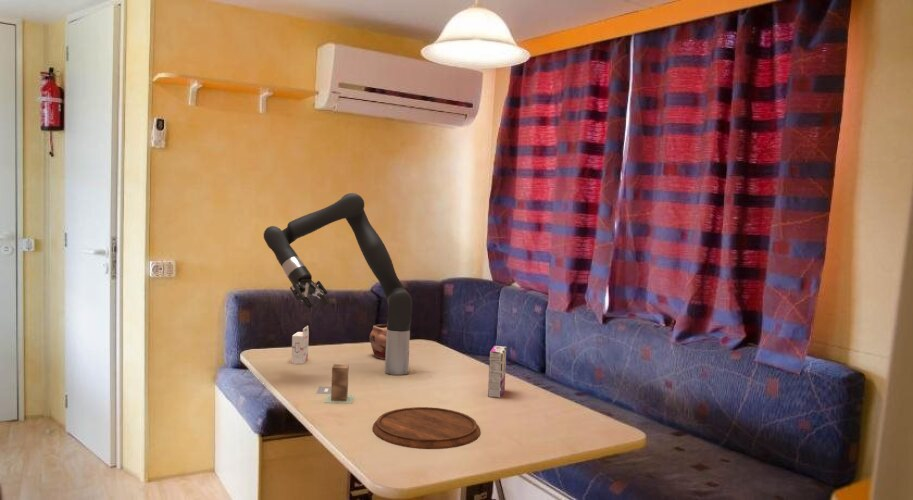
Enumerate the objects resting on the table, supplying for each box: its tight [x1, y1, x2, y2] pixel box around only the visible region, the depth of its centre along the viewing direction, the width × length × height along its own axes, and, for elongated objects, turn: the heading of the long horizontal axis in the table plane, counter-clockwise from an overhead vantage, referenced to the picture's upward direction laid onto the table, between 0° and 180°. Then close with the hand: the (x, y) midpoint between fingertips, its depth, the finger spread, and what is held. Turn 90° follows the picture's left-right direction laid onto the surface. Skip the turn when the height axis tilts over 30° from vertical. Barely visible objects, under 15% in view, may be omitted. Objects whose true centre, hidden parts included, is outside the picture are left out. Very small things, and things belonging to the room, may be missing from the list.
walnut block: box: [330, 363, 350, 401], centre depth 218 cm, size 5×5×11 cm
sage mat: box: [324, 394, 355, 404], centre depth 218 cm, size 9×9×1 cm
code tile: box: [316, 385, 331, 395], centre depth 228 cm, size 9×9×1 cm
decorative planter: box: [369, 324, 387, 360], centre depth 286 cm, size 20×12×14 cm, turn 36°
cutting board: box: [372, 406, 481, 450], centre depth 193 cm, size 32×32×2 cm
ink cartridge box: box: [291, 325, 310, 365], centre depth 269 cm, size 9×5×15 cm, turn 179°
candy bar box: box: [487, 345, 507, 399], centre depth 235 cm, size 11×5×16 cm, turn 168°
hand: (319, 306), depth 234 cm, fingers open, 8 cm apart
